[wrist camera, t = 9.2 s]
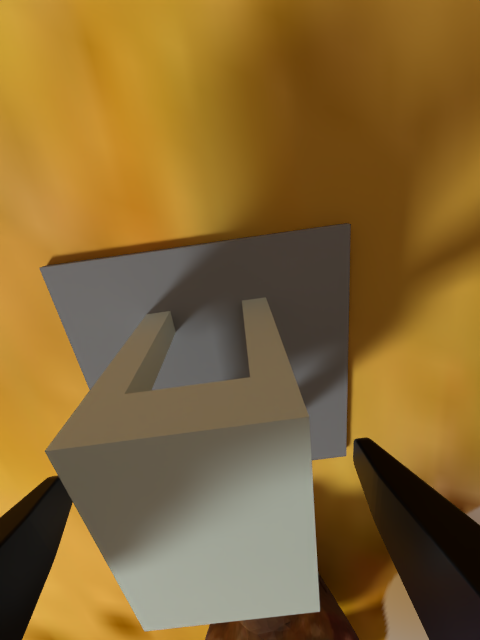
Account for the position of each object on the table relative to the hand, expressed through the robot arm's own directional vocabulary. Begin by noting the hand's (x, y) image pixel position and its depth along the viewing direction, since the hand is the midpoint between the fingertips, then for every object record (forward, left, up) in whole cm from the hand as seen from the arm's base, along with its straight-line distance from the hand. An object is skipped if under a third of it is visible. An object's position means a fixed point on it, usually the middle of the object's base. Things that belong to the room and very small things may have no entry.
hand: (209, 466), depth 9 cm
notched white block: (0, 0, -5) cm, 5 cm away
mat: (0, 0, -5) cm, 5 cm away
